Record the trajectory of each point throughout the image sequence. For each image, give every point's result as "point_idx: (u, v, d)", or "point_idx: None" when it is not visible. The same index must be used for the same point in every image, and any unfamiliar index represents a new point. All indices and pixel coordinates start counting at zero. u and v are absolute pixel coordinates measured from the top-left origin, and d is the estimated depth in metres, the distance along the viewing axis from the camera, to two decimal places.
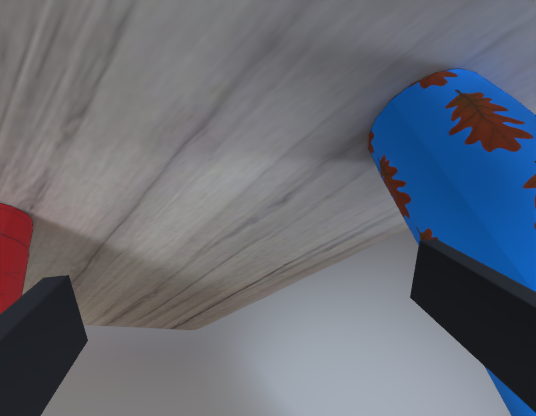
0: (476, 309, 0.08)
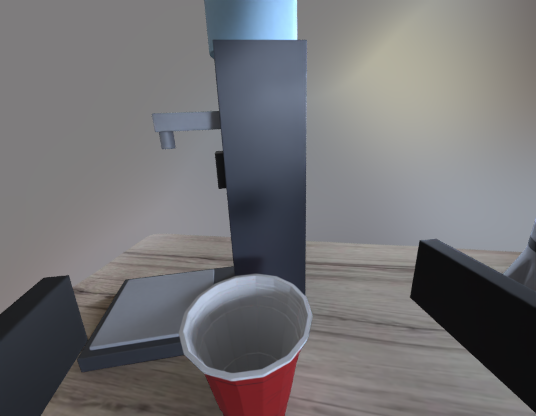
0: (476, 309, 0.08)
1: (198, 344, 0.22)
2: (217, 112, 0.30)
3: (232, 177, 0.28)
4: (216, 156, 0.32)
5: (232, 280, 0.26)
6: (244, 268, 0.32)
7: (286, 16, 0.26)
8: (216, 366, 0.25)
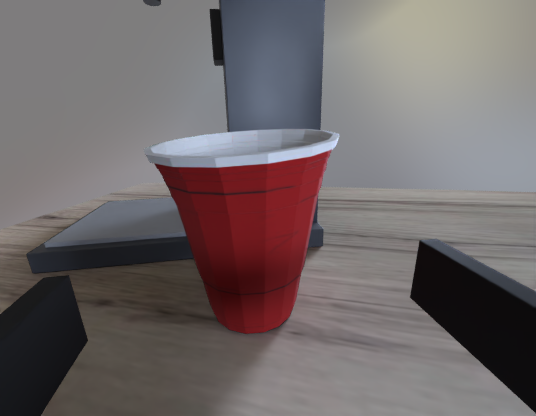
0: (476, 309, 0.08)
1: None
2: None
3: (229, 15, 0.22)
4: (211, 12, 0.25)
5: (226, 134, 0.20)
6: None
7: None
8: None
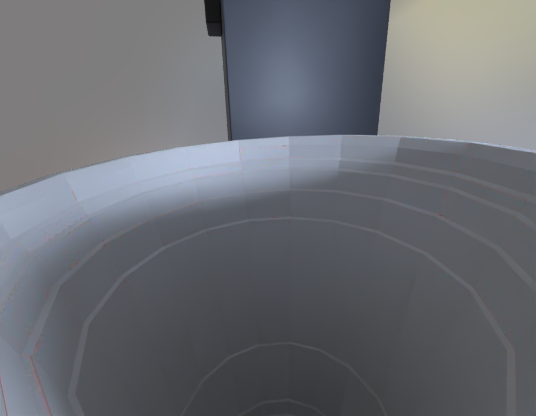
0: None
1: (88, 287, 0.06)
2: None
3: None
4: None
5: (228, 145, 0.10)
6: None
7: None
8: (174, 375, 0.08)
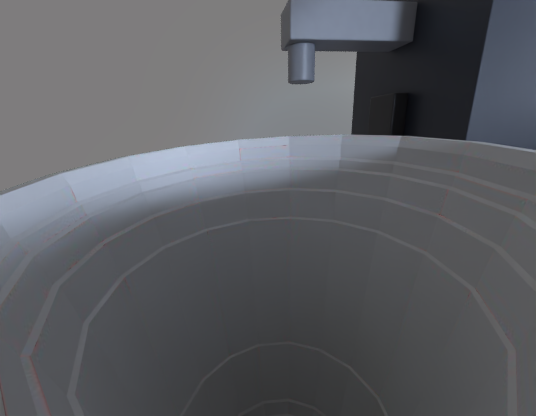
0: None
1: (87, 287, 0.06)
2: (414, 4, 0.15)
3: (480, 128, 0.13)
4: (395, 98, 0.16)
5: (228, 144, 0.10)
6: None
7: None
8: (174, 375, 0.08)
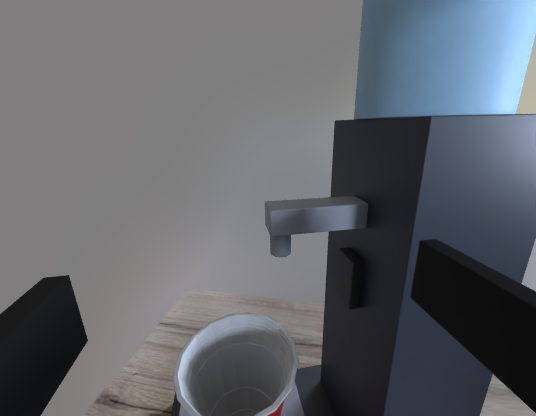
0: (476, 309, 0.08)
1: (191, 384, 0.23)
2: (366, 205, 0.19)
3: (407, 323, 0.17)
4: (354, 267, 0.21)
5: (225, 319, 0.28)
6: None
7: (526, 69, 0.15)
8: (208, 402, 0.26)
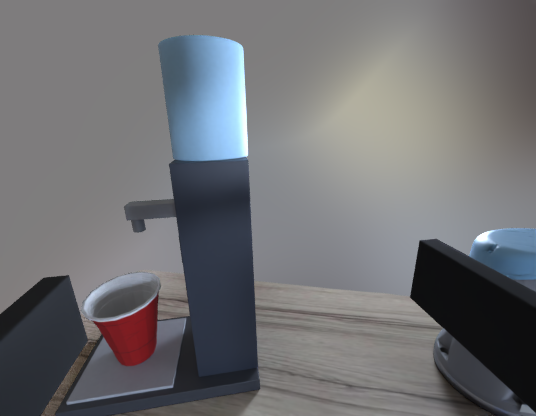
0: (476, 309, 0.08)
1: (97, 309, 0.40)
2: None
3: (188, 264, 0.34)
4: None
5: (127, 275, 0.44)
6: (202, 335, 0.37)
7: (233, 137, 0.32)
8: None
